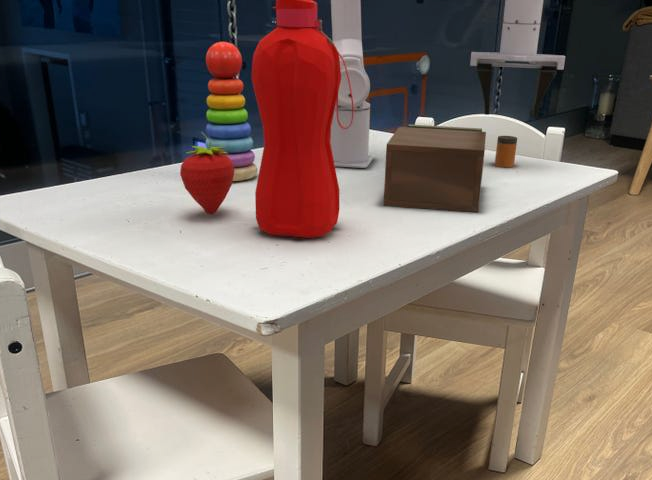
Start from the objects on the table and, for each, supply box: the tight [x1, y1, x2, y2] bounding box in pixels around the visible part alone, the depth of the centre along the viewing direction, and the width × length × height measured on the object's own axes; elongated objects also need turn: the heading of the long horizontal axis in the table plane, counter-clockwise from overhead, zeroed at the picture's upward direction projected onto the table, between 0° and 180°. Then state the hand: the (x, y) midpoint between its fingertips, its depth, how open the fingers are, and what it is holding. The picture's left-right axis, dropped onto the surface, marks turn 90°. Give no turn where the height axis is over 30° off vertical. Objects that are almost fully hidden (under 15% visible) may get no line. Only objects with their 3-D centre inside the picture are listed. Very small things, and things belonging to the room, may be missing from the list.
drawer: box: [407, 124, 483, 132], centre depth 110 cm, size 17×11×6 cm
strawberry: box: [179, 131, 235, 216], centre depth 89 cm, size 6×8×10 cm
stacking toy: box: [205, 41, 258, 182], centre depth 105 cm, size 8×8×19 cm
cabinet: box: [383, 126, 487, 213], centre depth 100 cm, size 14×13×8 cm
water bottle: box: [251, 0, 353, 239], centre depth 81 cm, size 9×11×25 cm
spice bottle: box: [494, 135, 518, 168], centre depth 121 cm, size 3×3×5 cm
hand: (510, 115), depth 118 cm, fingers open, 7 cm apart
